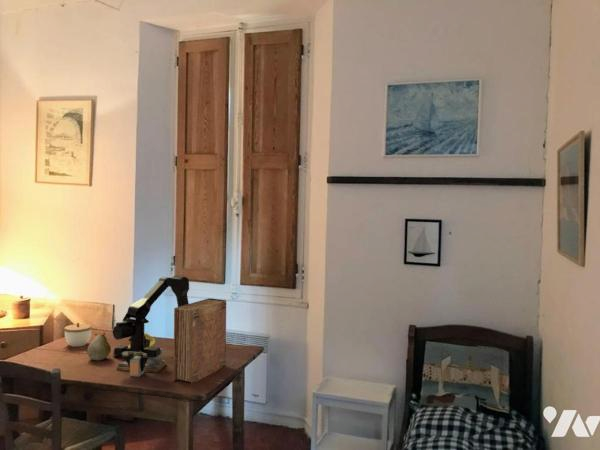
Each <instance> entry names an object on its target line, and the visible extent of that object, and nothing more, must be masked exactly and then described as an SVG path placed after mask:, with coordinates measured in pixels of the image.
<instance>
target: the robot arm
mask: <svg viewBox="0 0 600 450" xmlns="http://www.w3.org/2000/svg"><path fill="white" fill-rule="evenodd" d="M169 287H170V289H171V291H172V292H173V294H174V295H175V297H176V302H177V307H180V306H183V305H187V304H190V303H189V298H188V293H189V290H190V279H189V278H188V277H185V276H180V275H174V276H172V277H170V276H169V277H168V276H167V277H166V276H165V277H164V276H161V277H159V278H158V281H157V282H156V283H155V284H154V286H152V287H151V288H150V289H149V290H148V291H147V293H146V294H145V295H144V296H143V297H142V298H141V299H138V300H137V301H135V302H133V303H132V304H131V305H129V306H128V308H127V312H126V314H125V315H124V317H123V319H122V321H117V322H115V326H114V327H113V328H112V335H113V338H114V339H115V340H118V341H120V340H123V339H127V338H128V341H129V343H130V344H129V345H130V348H128V346H129V345H127V344H125V345H124V344H120V345H118V347H117V346H116V347H115V348H114V349H113V353H114V355H117V356H121V355H122V352H123V355H122V356H121V358H123V359H124V360H125V361H126V362H127V363H128V365H129V367H130V359H132V358H133V356H134V353H140V354H141V356H142V357H140V361H141V372H143V370H144V367H145V364H146V362H147V359H148V358H149V357H157V356H158V355H160V354H161V349H162V348H160V347H157V346H152V347H151V348H149V349H144V348H147V347H149V346H150V340H149V339H146V336H144V334H145V324H148V323H149V322H150V321H149V320H148V319H147V316H148V314H149V313H150V311H151V307H152V306H153V304H154V303H155V302H156V301H157V300H158V299H159V298H160V296H161V295H162V294H163V293H164V292H165V291H166V290H167V289H168V288H169ZM114 355H113V356H114Z"/></svg>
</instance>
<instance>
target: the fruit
mask: <svg viewBox="0 0 600 450" xmlns="http://www.w3.org/2000/svg"><path fill="white" fill-rule="evenodd" d="M105 334H106V332H104V331H103V334H102V333H99V334H97V335H96V336H95V338H93V340H92V341H91V342H90V343H89V344H88V346H87V352H86V353H87V355H88V357H89V358H90V359H91V360H94V361H102V360H105V359H107V357H108V356H109V355H110V353H111V350H112V348H111V345H110V343H109V341H108V340H107V337H106V336H105Z"/></svg>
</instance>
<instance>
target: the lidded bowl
mask: <svg viewBox="0 0 600 450" xmlns="http://www.w3.org/2000/svg"><path fill="white" fill-rule="evenodd" d="M63 329H64V339H65V341H66V342H67V344H68V345H70V347H78V348H79V347H82V346H85V345H87V343H88V342H89V341H90V339H91V336H92V325H91V324H88V323H80V322H76V323H75V324H69V325H66V326H64V328H63Z"/></svg>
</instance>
